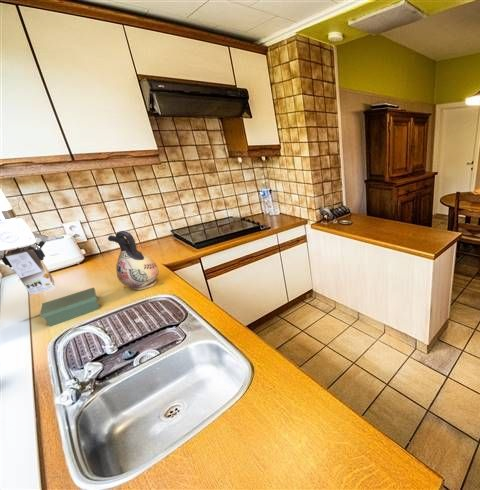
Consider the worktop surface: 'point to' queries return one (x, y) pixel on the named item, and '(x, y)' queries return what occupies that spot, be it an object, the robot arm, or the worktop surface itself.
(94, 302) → the green block
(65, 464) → the worktop surface
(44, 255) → the robot arm
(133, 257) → the ceramic jug
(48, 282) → the coffee box
